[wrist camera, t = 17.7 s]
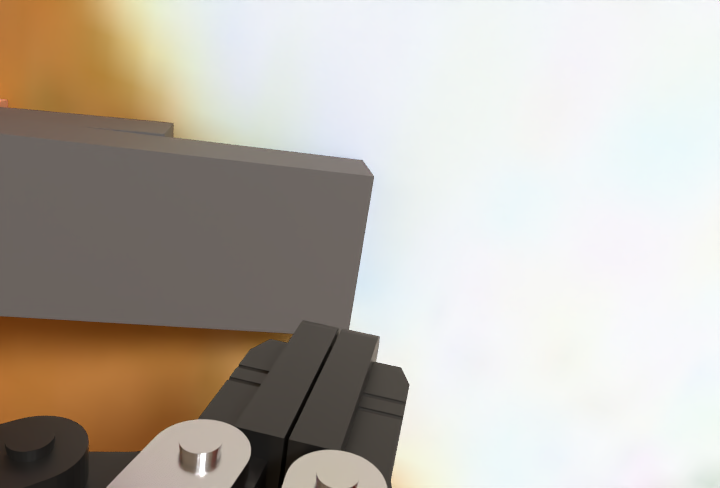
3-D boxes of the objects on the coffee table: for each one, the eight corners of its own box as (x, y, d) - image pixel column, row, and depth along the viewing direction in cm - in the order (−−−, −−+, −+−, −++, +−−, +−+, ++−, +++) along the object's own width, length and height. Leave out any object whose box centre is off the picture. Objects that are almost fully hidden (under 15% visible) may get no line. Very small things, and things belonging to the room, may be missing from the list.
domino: (339, 307, 20) (-26, 281, 18) (362, 160, 18) (-37, 112, 16) (347, 336, 18) (-58, 312, 16) (374, 176, 17) (-74, 125, 14)
